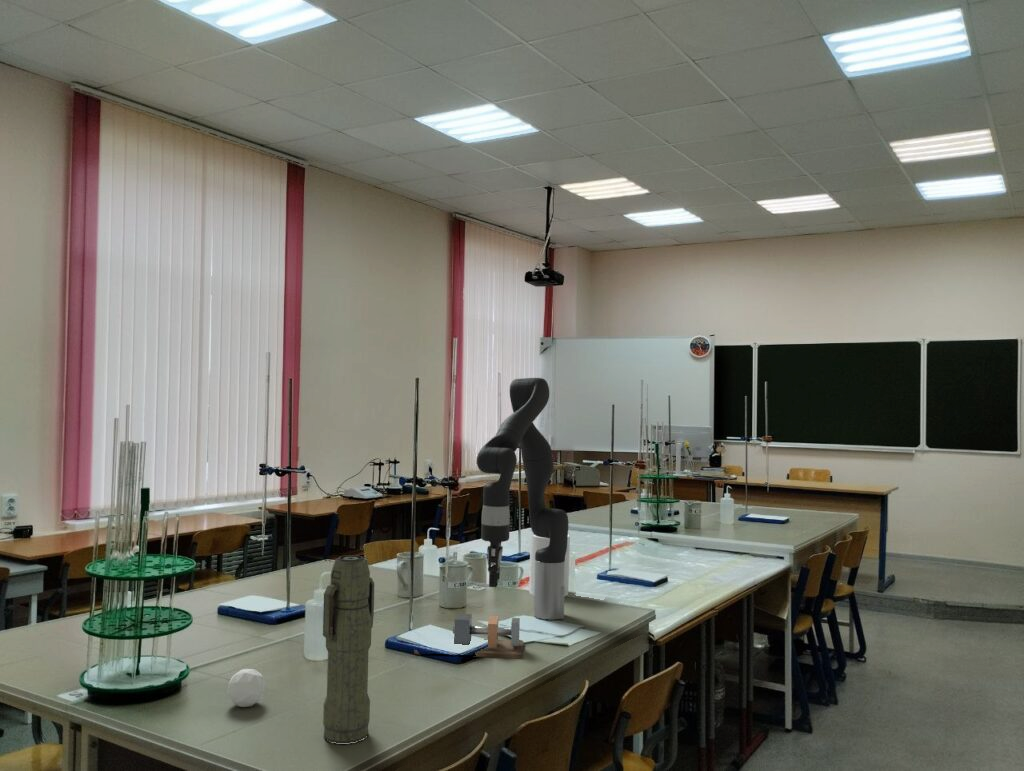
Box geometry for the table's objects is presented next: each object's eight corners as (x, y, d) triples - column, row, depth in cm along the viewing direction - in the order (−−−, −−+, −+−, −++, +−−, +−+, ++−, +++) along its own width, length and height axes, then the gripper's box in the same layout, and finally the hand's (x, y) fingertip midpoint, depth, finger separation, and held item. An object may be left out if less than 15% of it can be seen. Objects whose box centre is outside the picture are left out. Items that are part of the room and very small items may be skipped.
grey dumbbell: (519, 640, 216) (519, 618, 216) (518, 646, 211) (519, 623, 211) (454, 637, 217) (454, 615, 217) (452, 643, 212) (452, 620, 212)
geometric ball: (255, 718, 172) (273, 692, 170) (219, 711, 168) (237, 685, 166) (254, 690, 179) (271, 665, 177) (220, 682, 175) (237, 657, 173)
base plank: (523, 644, 220) (523, 640, 220) (521, 658, 208) (521, 654, 208) (421, 640, 221) (421, 636, 221) (414, 654, 209) (414, 650, 209)
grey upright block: (471, 641, 217) (471, 614, 218) (469, 648, 211) (469, 620, 212) (456, 641, 218) (457, 613, 218) (453, 648, 212) (454, 619, 212)
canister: (543, 586, 288) (544, 530, 288) (575, 592, 280) (576, 534, 280) (521, 593, 277) (523, 535, 277) (554, 599, 269) (556, 539, 269)
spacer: (498, 637, 217) (498, 616, 217) (496, 646, 211) (497, 624, 211) (489, 637, 217) (489, 615, 217) (487, 646, 212) (488, 623, 211)
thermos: (307, 741, 155) (312, 559, 156) (348, 720, 166) (353, 550, 166) (342, 752, 151) (347, 565, 152) (382, 730, 161) (387, 555, 162)
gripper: (508, 526, 207) (506, 589, 207) (510, 518, 222) (509, 577, 221) (479, 526, 208) (478, 589, 207) (483, 517, 222) (482, 576, 222)
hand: (494, 582), depth 214 cm, fingers open, 8 cm apart
